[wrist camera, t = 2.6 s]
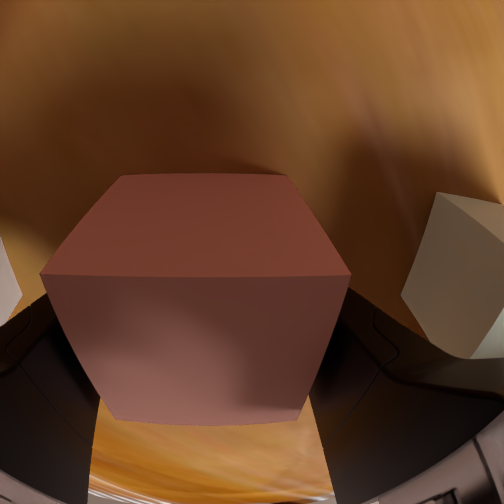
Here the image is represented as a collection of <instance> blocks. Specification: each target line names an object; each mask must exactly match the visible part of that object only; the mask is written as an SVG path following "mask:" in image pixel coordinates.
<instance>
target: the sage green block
mask: <svg viewBox="0 0 504 504" xmlns="http://www.w3.org/2000/svg"><path fill="white" fill-rule="evenodd" d="M400 296H401V297H402V299H403V300H404V302H405V303H406V305H407V306H408V308H409V309H410V311H411V312H412V314H413V315H414V317H415V318H416V320H417V322H418V323H419V325H420V326H421V328H422V329H423V331H424V333H425V334H426V336H427V337H428V339H429V341H430V342H431V343H432V344H434V345H435V346H437V347H439V348H440V349H442V350H443V351H445V352H447V353H449V354H450V355H453V356H455V357H459V358H463V359H485V358H503V357H504V205H502V204H498V203H493V202H489V201H484V200H479V199H474V198H469V197H464V196H458V195H453V194H447V193H441V192H436V196H435V199H434V203H433V206H432V210H431V213H430V216H429V219H428V223H427V226H426V229H425V232H424V235H423V238H422V241H421V243H420V246H419V249H418V252H417V255H416V257H415V260H414V263H413V265H412V268H411V270H410V273H409V275H408V278H407V280H406V283H405V285H404V288H403V290H402V292H401V295H400Z"/></svg>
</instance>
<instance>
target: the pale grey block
mask: <svg viewBox="0 0 504 504" xmlns="http://www.w3.org/2000/svg"><path fill="white" fill-rule="evenodd" d="M22 296H23V294H22V292H21V290H20V288H19V285H18V283H17V280H16V278H15V275H14V273H13V270H12V268H11V265H10V262H9V260H8V257H7V254H6V251H5V248H4V245H3V242H2V239H1V236H0V326H2V325H3V324H5V323H6V322H7V320H8V318H9V317H10V315H11V313H12V312H13V310H14V308H15V307H16V305H17V303H18V302H19V300H20V299H21V297H22Z"/></svg>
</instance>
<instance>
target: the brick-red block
mask: <svg viewBox="0 0 504 504" xmlns="http://www.w3.org/2000/svg"><path fill="white" fill-rule="evenodd" d="M40 276H41V279H42V282H43V284H44V287H45V289H46V292H47V294H48V297H49V299H50V302H51V304H52V306H53V309H54V311H55V313H56V315H57V318H58V320H59V322H60V324H61V326H62V328H63V331H64V333H65V335H66V337H67V339H68V341H69V343H70V345H71V347H72V349H73V350H74V352H75V354H76V356H77V358H78V360H79V362H80V363H81V365H82V367H83V369H84V370H85V372H86V374H87V376H88V377H89V379H90V381H91V382H92V384H93V386H94V387H95V389H96V391H97V392H98V394H99V395H100V397H101V398H102V400H103V401H104V403H105V405H106V406H107V408H108V409H109V410H110V412H111V413H112V415H113V416H114V418H115V419H117V420H125V421H133V422H143V423H155V424H170V425H198V426H219V425H248V424H263V423H275V422H285V421H294V420H297V419H298V416H299V414H300V412H301V410H302V407H303V405H304V403H305V401H306V398H307V396H308V394H309V391H310V389H311V387H312V384H313V382H314V379H315V377H316V375H317V372H318V370H319V367H320V365H321V362H322V359H323V357H324V354H325V352H326V349H327V346H328V344H329V341H330V338H331V336H332V333H333V330H334V327H335V324H336V322H337V319H338V316H339V313H340V310H341V307H342V304H343V301H344V298H345V295H346V292H347V288H348V285H349V282H350V279H351V276H352V275H351V273H350V271H349V270H348V268H347V266H346V265H345V263H344V262H343V260H342V258H341V257H340V255H339V253H338V252H337V250H336V249H335V247H334V245H333V244H332V242H331V241H330V239H329V238H328V236H327V234H326V233H325V231H324V230H323V228H322V227H321V225H320V224H319V222H318V220H317V219H316V217H315V216H314V214H313V213H312V211H311V210H310V208H309V207H308V205H307V204H306V202H305V201H304V199H303V198H302V197H301V195H300V194H299V192H298V191H297V189H296V188H295V186H294V185H293V183H292V182H291V181H290V179H289V178H288V176H287V175H271V174H243V173H164V174H137V175H121V176H120V177H119V178H118V179H117V180H116V181H115V182H114V183H113V184H112V185H111V187H110V188H109V189H108V190H107V191H106V192H105V193H104V194H103V195H102V196H101V197H100V198H99V200H98V201H97V202H96V203H95V204H94V205H93V206H92V208H91V209H90V210H89V211H88V212H87V213H86V214H85V216H84V217H83V218H82V219H81V220H80V222H79V223H78V224H77V225H76V226H75V228H74V229H73V230H72V231H71V233H70V234H69V235H68V236H67V238H66V239H65V240H64V241H63V243H62V244H61V245H60V247H59V248H58V249H57V251H56V252H55V253H54V255H53V256H52V257H51V259H50V260H49V261H48V263H47V264H46V265H45V267H44V268H43V270H42V271H41V273H40Z"/></svg>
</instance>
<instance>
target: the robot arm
mask: <svg viewBox="0 0 504 504" xmlns="http://www.w3.org/2000/svg"><path fill="white" fill-rule="evenodd" d="M308 395H309V398H310V402H311V406H312V409H313V413H314V417H315V420H316V424H317V428H318V432H319V435H320V439H321V443H322V447H323V448H324V449H323V451H324V455H325V459H326V463H327V466H328V470H329V474H330V478H331V482H332V486H333V490H334V494H335V498H336V501H337V504H370V503H373V502H376V501H379V504H504V357H503V358H485V359H463V358H459V357H455V356H453V355H450V354H449V353H447V352H445V351H443V350H442V349H440V348H439V347H437V346H435V345H434V344H432V343H431V342H429V341H427V340H426V339H424V338H422V337H421V336H419V335H418V334H416V333H414V332H413V331H411V330H410V329H408V328H407V327H405V326H403V325H402V324H400V323H399V322H397V321H396V320H394V319H393V318H392V317H390V316H389V315H387V314H386V313H385V312H383V311H382V310H380V309H379V308H378V307H376V306H375V305H373V304H372V303H371V302H369V301H368V300H366V299H365V298H364V297H362V296H361V295H360V294H358V293H357V292H355V291H354V290H353V289H351V288H350V287H348V288H347V292H346V295H345V298H344V301H343V304H342V307H341V310H340V313H339V316H338V319H337V322H336V324H335V327H334V330H333V333H332V336H331V338H330V341H329V344H328V346H327V349H326V352H325V354H324V357H323V359H322V362H321V365H320V367H319V370H318V372H317V375H316V377H315V379H314V382H313V384H312V387H311V389H310V391H309V394H308ZM99 402H100V395H99V394H98V392H97V391H96V389H95V387H94V386H93V384H92V382H91V381H90V379H89V377H88V376H87V374H86V372H85V370H84V369H83V367H82V365H81V363H80V362H79V360H78V358H77V356H76V354H75V352H74V350H73V349H72V347H71V345H70V343H69V341H68V339H67V337H66V335H65V333H64V331H63V328H62V326H61V324H60V322H59V320H58V318H57V315H56V313H55V311H54V309H53V306H52V304H51V302H50V299H49V297H48V294H47V293H46V294H44V295H43V296H41V297H40V298H39V299H37V300H36V301H35V302H33V303H32V304H31V305H30V306H28V307H26V308H25V309H24V310H22V311H21V312H20V313H18V314H17V315H16V316H14V317H13V318H12V319H10V320H9V321H7V322H6V323H5V324H3V325H2V326H0V504H57V503H60V504H87V501H88V499H87V498H88V485H89V474H90V464H91V455H92V446H93V438H94V432H95V425H96V419H97V413H98V407H99Z"/></svg>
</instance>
